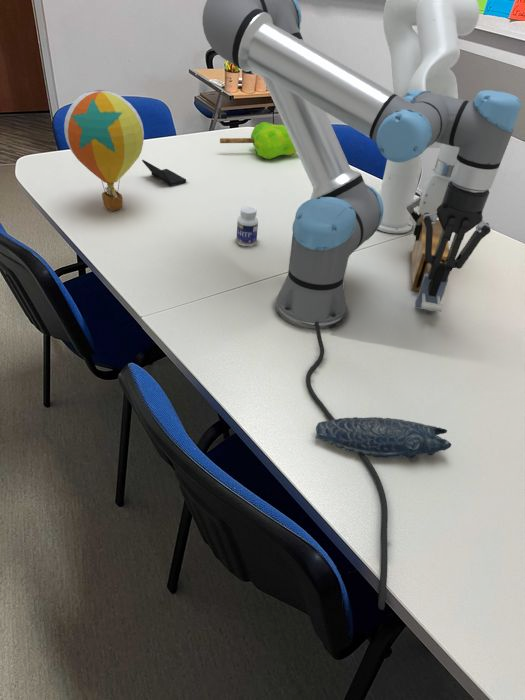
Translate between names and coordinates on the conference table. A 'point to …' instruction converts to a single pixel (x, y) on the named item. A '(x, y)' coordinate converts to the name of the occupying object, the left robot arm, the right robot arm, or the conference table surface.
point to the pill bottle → (247, 227)
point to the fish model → (382, 436)
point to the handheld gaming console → (165, 175)
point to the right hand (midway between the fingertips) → (430, 240)
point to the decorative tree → (267, 140)
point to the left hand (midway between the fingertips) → (432, 292)
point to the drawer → (423, 296)
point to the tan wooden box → (419, 252)
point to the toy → (105, 138)
